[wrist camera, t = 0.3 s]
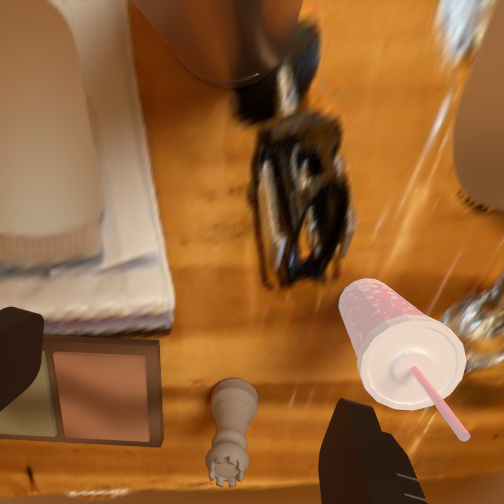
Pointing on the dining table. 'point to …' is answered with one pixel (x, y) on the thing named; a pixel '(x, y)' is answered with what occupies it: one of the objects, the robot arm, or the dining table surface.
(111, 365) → the tile board
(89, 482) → the dining table surface
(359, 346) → the beverage cup
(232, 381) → the rook chess piece
